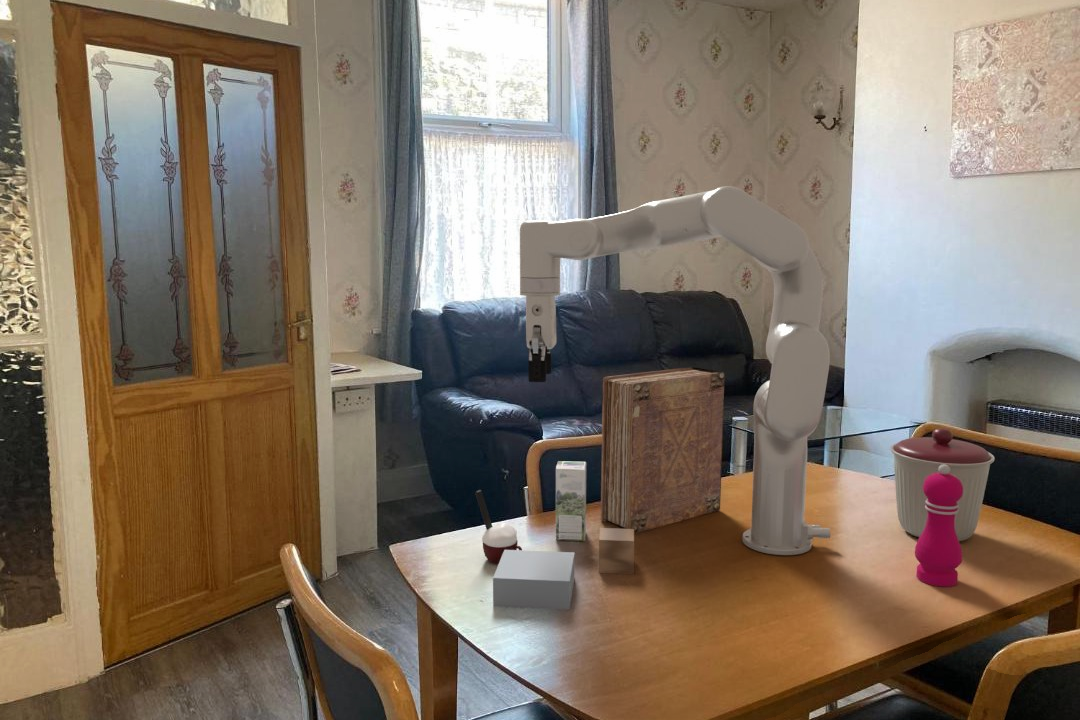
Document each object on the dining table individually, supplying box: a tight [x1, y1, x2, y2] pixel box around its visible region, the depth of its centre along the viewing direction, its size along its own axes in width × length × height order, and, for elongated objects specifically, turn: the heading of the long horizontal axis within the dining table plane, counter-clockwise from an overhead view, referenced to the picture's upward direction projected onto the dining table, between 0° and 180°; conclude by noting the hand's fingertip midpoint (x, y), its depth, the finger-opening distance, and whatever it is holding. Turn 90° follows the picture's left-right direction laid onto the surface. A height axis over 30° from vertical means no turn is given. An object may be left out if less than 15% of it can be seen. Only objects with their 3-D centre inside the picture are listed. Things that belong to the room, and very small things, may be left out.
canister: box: [889, 427, 996, 542], centre depth 158 cm, size 18×18×21 cm
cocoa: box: [475, 489, 523, 565], centre depth 146 cm, size 10×6×12 cm, turn 36°
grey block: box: [492, 549, 576, 611], centre depth 133 cm, size 12×12×5 cm
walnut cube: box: [598, 527, 635, 575], centre depth 143 cm, size 6×6×6 cm
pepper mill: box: [914, 464, 963, 588], centre depth 136 cm, size 7×7×20 cm
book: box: [600, 366, 726, 534], centre depth 168 cm, size 25×9×30 cm, turn 124°
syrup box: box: [555, 460, 587, 542], centre depth 157 cm, size 6×6×14 cm
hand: (540, 377), depth 155 cm, fingers open, 9 cm apart
